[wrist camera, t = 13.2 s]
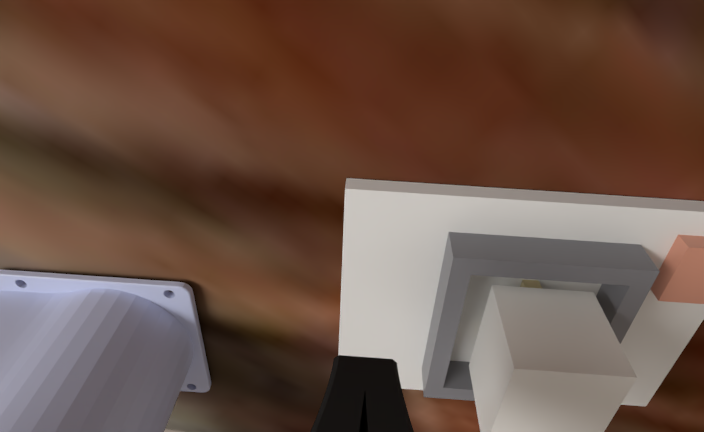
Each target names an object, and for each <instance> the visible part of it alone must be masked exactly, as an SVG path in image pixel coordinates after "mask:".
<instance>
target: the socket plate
mask: <svg viewBox="0 0 704 432" xmlns="http://www.w3.org/2000/svg"><path fill="white" fill-rule="evenodd" d="M522 280H537V281H539V282H540V284H541V287H542V288H543V289H557V290H571V291H585V292H594V294H595V296H596V298H597V300H598V302H599V304H600V306H601V308H602V310H603V312H604V314H605V316H606V318H607V320H608V322H609V323H610V325H611V327H612V329H613V331H614V333H615V335H616V337H617V339H618V341H619V343H620V345H621V347H622V349H623V351H624V353H625V355H626V357H627V359H628V361H629V363H630V365H631V367H632V369H633V370H634V372H635V374H636V376H637V379H636V380H635V382H634V384H633V385H632V387H631V389H630V390H629V392H628V394H627V395H626V397H625V398H624V400H623V402H622V403H621V405H633V406H647V404H648V403H649V401H650V400H651V398H652V397H653V395H654V394H655V392H656V391H657V389H658V388H659V386H660V385H661V383H662V382H663V380H664V378H665V377H666V375H667V374H668V372H669V371H670V369H671V368H672V366H673V365H674V363H675V362H676V360H677V359H678V357H679V356H680V354H681V353H682V351H683V350H684V348H685V347H686V345H687V344H688V342H689V341H690V339H691V338H692V336H693V335H694V333H695V332H696V330H697V329H698V327H699V326H700V324H701V323H702V321H703V320H704V201H694V200H678V199H663V198H647V197H632V196H616V195H601V194H585V193H570V192H554V191H539V190H523V189H508V188H492V187H477V186H461V185H446V184H430V183H415V182H399V181H384V180H368V179H353V178H346V186H345V204H344V230H343V255H342V280H341V305H340V330H339V355H343V356H357V357H371V358H385V359H393V360H394V361H395V362H397V368H398V374H399V379H400V384H401V388H402V389H415V390H423V393H424V397H431V398H445V399H458V400H472V401H475V398H474V393H473V387H472V381H471V375H470V370H469V363H470V360H471V356H472V353H473V349H474V346H475V342H476V339H477V335H478V332H479V328H480V325H481V321H482V318H483V314H484V311H485V307H486V304H487V300H488V297H489V294H490V290H491V287H492V285H500V286H514V287H520V286H521V283H522ZM339 355H338V356H339Z"/></svg>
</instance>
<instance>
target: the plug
mask: <svg viewBox="0 0 704 432" xmlns="http://www.w3.org/2000/svg"><path fill="white" fill-rule="evenodd" d="M469 370H470V375H471V381H472V387H473V393H474V398H475V404H476V410H477V415H478V421H479V427H480V432H604V431H605V429H606V428H607V426H608V424H609V423H610V421H611V420H612V418H613V416H614V415H615V413H616V411H617V410H618V408H619V407H620V405H621V403H622V402H623V400H624V398H625V397H626V395H627V394H628V392H629V390H630V389H631V387H632V385H633V384H634V382H635V380H636V379H637V376H636V374H635V372H634V370H633V369H632V367H631V365H630V363H629V361H628V359H627V357H626V355H625V353H624V351H623V349H622V347H621V345H620V343H619V341H618V339H617V337H616V335H615V333H614V331H613V329H612V327H611V325H610V323H609V322H608V320H607V318H606V316H605V314H604V312H603V310H602V308H601V306H600V304H599V302H598V300H597V298H596V296H595V294H594V292H585V291H571V290H557V289H543V288H542V287H541V284H540V282H539V281H537V280H522V283H521V286H520V287H514V286H500V285H492V287H491V290H490V294H489V297H488V300H487V304H486V307H485V311H484V314H483V318H482V321H481V325H480V328H479V332H478V335H477V339H476V342H475V346H474V349H473V353H472V356H471V360H470V363H469Z"/></svg>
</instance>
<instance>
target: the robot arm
mask: <svg viewBox="0 0 704 432" xmlns="http://www.w3.org/2000/svg"><path fill="white" fill-rule="evenodd" d="M168 290H170V291H172V292H170V291H168ZM210 387H211V378H210V373H209V368H208V363H207V358H206V353H205V348H204V343H203V338H202V333H201V328H200V323H199V318H198V313H197V308H196V304H195V299H194V294H193V290H192V288H191V287H190V286H189V285H188V284H186V283H183V282H174V281H160V280H145V279H131V278H117V277H102V276H88V275H73V274H59V273H45V272H30V271H16V270H0V432H164V430H165V428H166V425H167V423H168V420H169V418H170V415H171V413H172V410H173V408H174V405H175V403H176V400H177V398H178V395H179V393H180V391H187V392H201V393H203V392H207V391H209V390H210ZM311 432H414V431H413V428H412V425H411V422H410V419H409V415H408V412H407V408H406V404H405V401H404V397H403V393H402V389H401V384H400V379H399V374H398V368H397V362H395V361H394V360H393V359H385V358H371V357H357V356H343V355H339V356H337V357H335V358H334V362H333V367H332V372H331V376H330V379H329V383H328V386H327V390H326V393H325V396H324V398H323V401H322V404H321V407H320V410H319V412H318V415H317V417H316V420H315V422H314V425H313V427H312V429H311Z"/></svg>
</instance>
